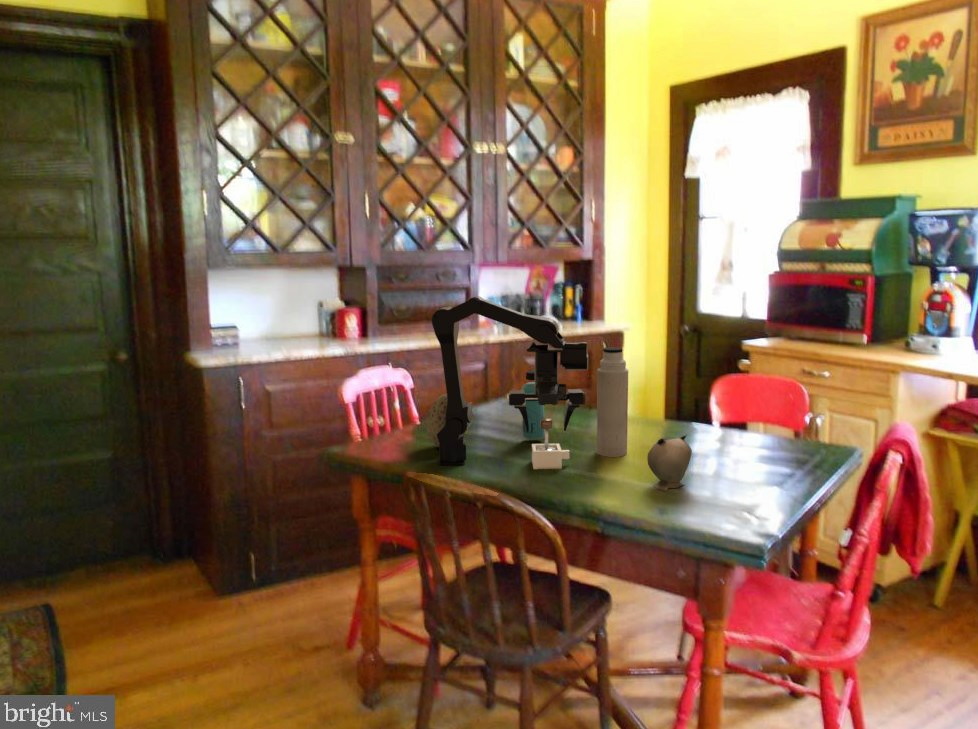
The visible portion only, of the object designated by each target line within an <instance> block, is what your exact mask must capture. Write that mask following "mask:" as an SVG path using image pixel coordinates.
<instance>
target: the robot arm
mask: <svg viewBox="0 0 978 729" xmlns="http://www.w3.org/2000/svg"><path fill="white" fill-rule="evenodd" d="M474 314H476V315H479V316H481V317H485V318H487V319H490V320H493V321H495V322H498V323H501V324H504V325H506V326H509V327H512V328H515V329H518V330H519V331H521V332H522V333H523V334H525V335H527V336H528V337H529V338H531V339H533V341H532V343H531V344H530V345H529V346H528V347H527V349H526V352H527V353H534V371H535V380H534V382H535V393H531V394H525V392H524V390H522V389H510V390H509V391H508V395H507V396H508V405H509V406H513V408H514V409H518V410H519V412H520V415H521V418H522V420H523V419H524V423H525V426H526V429H527V431H529V423H528V416H527V409H526V403H525V401H538V403H539V404H540V405H544V406H545V405H552V406H556V405H558V404H559V401H561V402H562V401H565V407H564V415H563V416H564V418H563V431H564V432H565V431H567V429H568V428H567V427H568V426H569V422H570V420H571V417H572V415H573V412H574V411H575V409H576V408H578V409H579V408H581V407H580V406H581V405H585V404H586V395H585V392H584V391H583V390H582V389H581V388H576V389H575V388H574V389H571V388H570V389H569V388H568V389H567V384H566V383H559V364H560V366H561V367H562V368H564V370H565V371H588V370H589V354H588V342H587V341H581V342H567V341H566V340H565V338H564V337H563V336H562V334H561V333H560V332H559V329H560V328H559V325H558V323H557V321H556V320H555V319H554V318H551V317H546V316H541V315H535V314H534V315H533V314H526V313H523V312H519V311H517V310H515V309H513V308H509V307H507V306H504V305H500V304H498V303H496V302H492V301H491V300H488V299H485V298H483V297H481V296H478V295H476V296H472V297H470V298H469V299H468V300H466V301H463V303H459V304H458V305H455V306H453V307H452V306H443V307H441V308H439V309H437V310H436V311H435V312H434V313H433V314H432V316H431V324H432V325H431V326H432V329H433V332H434V334H435V336H436V339H437V341H438V343H439V345H440V351H441V352H440V353H441V359H442V360H441V362H442V367H443V375H444V383H445V384H444V385H445V390H446V394H447V407H446V415H445V426H444V427H443V428H442V429H441V430H440V431H439V432H438V433H437V438H438V440H439V447H438V448H439V450H438V451H439V452H438V456H439V458H438V459H439V460H438V465H440V466H441V465H442V466H443V465H444V466H445V465H446V466H447V465H449V466H450V465H453V466H454V465H458V466H459V465H465V464H466V463H465V461H467V457H468V455H467V453H468V452H467V442H466V441H465V434H466V431H467V430H468V429H469V428H470V426H472V422H473V419H474V418H475V414H474V412H473V402H472V401H469V402H467V399H466V397H465V395H464V387H463V386H464V385H463V379H462V371H461V363H460V356H459V354H460V353H459V347H458V339H459V333H460V321H461V320H464V319H465V318H468V317H470V316H473V315H474ZM537 342H538V343H539V344H538V343H537ZM550 346H551V347H550ZM559 353H560V354H559ZM559 355H560V356H559ZM464 433H465V434H464ZM463 434H464V436H462V435H463Z"/></svg>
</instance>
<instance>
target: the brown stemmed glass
mask: <svg viewBox="0 0 978 729" xmlns="http://www.w3.org/2000/svg"><path fill="white" fill-rule="evenodd" d="M540 428H542V429H545V435H544V444H545V447H539V448H538V449H537V451H552V450H556V449H555V448H553V447H548V444H549V430H550V429H553V418H549V417H547V418H546V417H544V418H543V419H540Z"/></svg>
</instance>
